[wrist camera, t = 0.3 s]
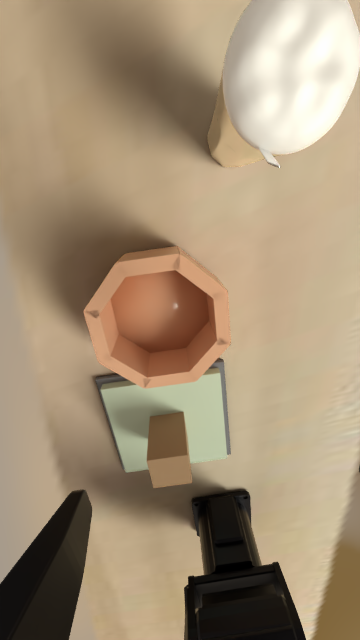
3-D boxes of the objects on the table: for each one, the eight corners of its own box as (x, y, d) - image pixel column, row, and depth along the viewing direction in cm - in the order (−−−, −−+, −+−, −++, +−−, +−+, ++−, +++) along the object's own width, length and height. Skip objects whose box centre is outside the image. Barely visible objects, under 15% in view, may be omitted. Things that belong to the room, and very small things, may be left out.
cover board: (225, 451, 26) (239, 505, 21) (127, 465, 26) (118, 522, 21) (218, 367, 22) (233, 410, 17) (102, 384, 22) (85, 431, 17)
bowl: (221, 348, 22) (232, 376, 18) (117, 363, 22) (107, 394, 18) (212, 240, 18) (225, 246, 15) (89, 257, 18) (70, 268, 15)
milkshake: (183, 179, 17) (204, 138, 8) (211, 79, 15) (285, -135, 6) (246, 202, 18) (336, 190, 8) (280, 110, 16) (445, -36, 6)
